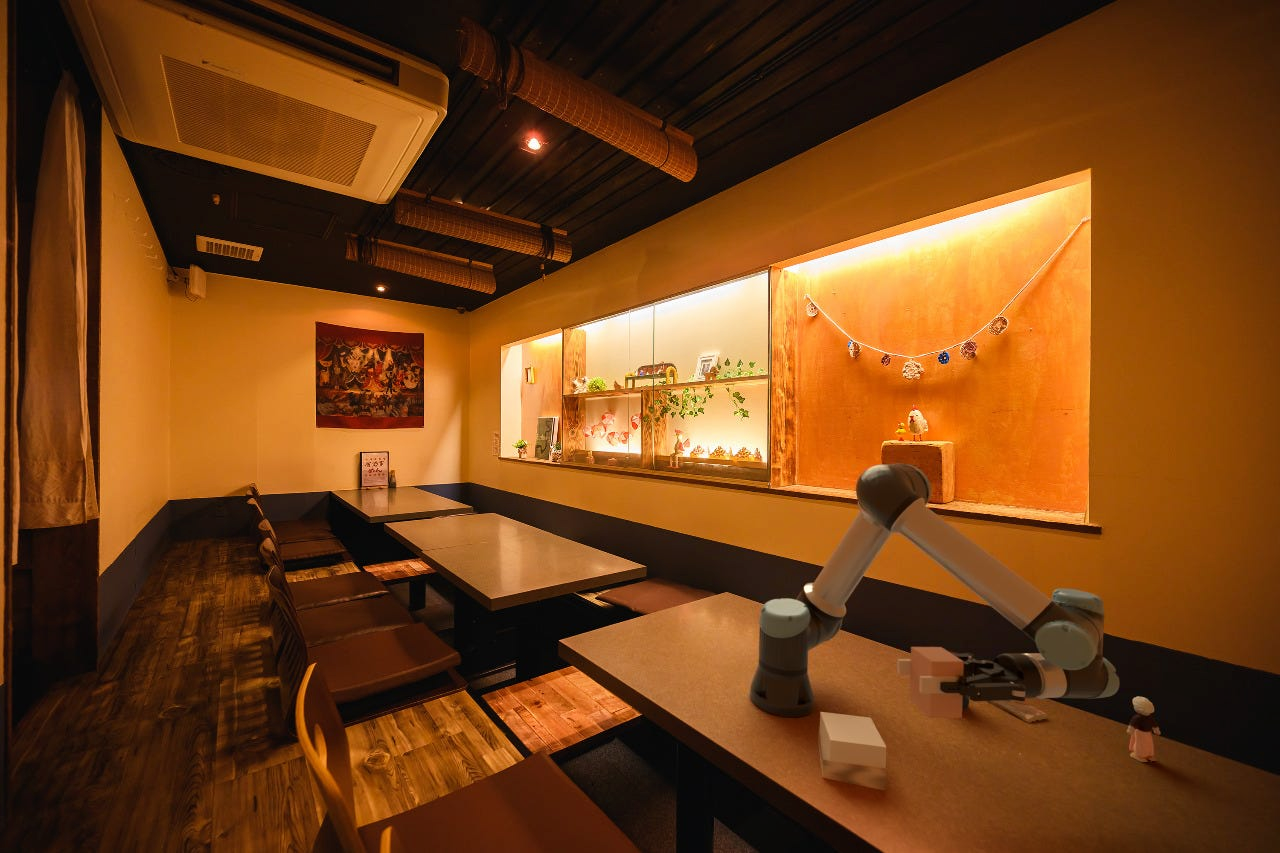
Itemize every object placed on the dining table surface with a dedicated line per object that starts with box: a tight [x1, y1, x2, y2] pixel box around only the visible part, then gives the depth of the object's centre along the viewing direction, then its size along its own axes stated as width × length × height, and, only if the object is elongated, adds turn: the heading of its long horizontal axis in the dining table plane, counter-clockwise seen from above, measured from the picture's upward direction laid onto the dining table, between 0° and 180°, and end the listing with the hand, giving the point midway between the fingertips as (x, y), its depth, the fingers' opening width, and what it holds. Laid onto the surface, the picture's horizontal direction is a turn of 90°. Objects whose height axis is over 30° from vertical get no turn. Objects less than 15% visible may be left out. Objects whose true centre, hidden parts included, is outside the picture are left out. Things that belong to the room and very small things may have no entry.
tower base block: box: [817, 727, 887, 791], centre depth 100 cm, size 11×11×4 cm
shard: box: [987, 700, 1048, 724], centre depth 125 cm, size 11×8×2 cm
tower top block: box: [819, 711, 887, 770], centre depth 100 cm, size 10×10×4 cm
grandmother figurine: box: [1126, 696, 1161, 763], centre depth 106 cm, size 8×4×13 cm, turn 110°
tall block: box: [909, 646, 964, 719], centre depth 93 cm, size 6×6×10 cm
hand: (909, 675), depth 93 cm, fingers closed on tall block, 6 cm apart
